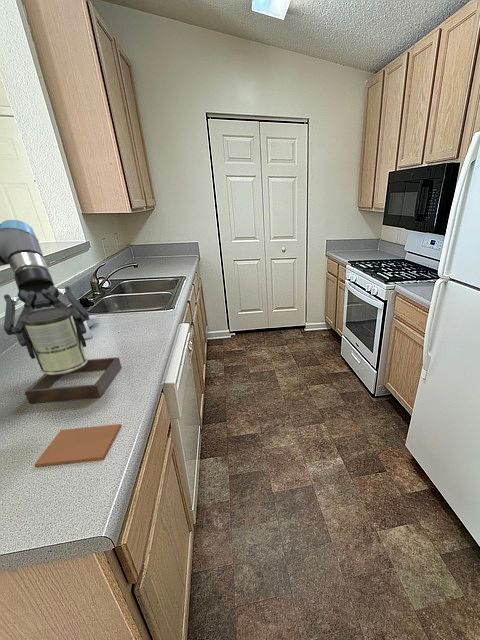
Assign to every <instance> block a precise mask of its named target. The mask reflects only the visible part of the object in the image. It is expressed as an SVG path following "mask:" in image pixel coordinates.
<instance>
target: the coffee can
mask: <svg viewBox="0 0 480 640" xmlns="http://www.w3.org/2000/svg"><path fill="white" fill-rule="evenodd" d="M69 308H70V307H69ZM69 308H55V307H47V308H43V309H42V308H41V309H36V310H34V311H33V312H30V313H27V314H25V315H23V316H21V317H20V316H19V317H20V321H21V323H22V325H23V327H24V329H25V332H26V334H27V337H28V339H29V341H30V344H31V346H32V349H33V352H34V355H35V357H36V358H35V359H36V361H37V364H38V365H39V368H40V371H41V373H42V374H43V375H44V374H48V375H57V374H63V373H64V374H69V373H68V372H71V371H74V370H77V369H79V368H81V367H82V366H84V365H85V364H86V363H87V362H88V360H89V359H88V358H87V355H86V352H85V349H84V347H83V345H82V343H81V340H80V337H79V334H78V331H77V328H76V325H75V322H74V319H73V316H72V311H71V309H72V308H70V309H69ZM64 374H63V375H64Z"/></svg>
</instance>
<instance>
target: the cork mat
mask: <svg viewBox="0 0 480 640" xmlns="http://www.w3.org/2000/svg"><path fill="white" fill-rule="evenodd" d="M121 428H122V424H121V423H117V424H107V425H96V426H87V427H78V428H77V427H76V428H67V429H66V428H65V429H60V430H59V432H58V433H57V435H56V436H55V437H54V438H53V440H52V441H51V442H50V443H49V445H48V446H47V447H46V449H45V450H44V451H43V453H42V454H41V455H40V456H39V458H38V459H36V461H35V463H34V464H33V465H34V467H35V468H40V467H49V466H59V465H67V464H76V463H85V462H93V461H103V460H104V461H105V458H106V456H107V455H108V452H109V451H110V448H111V447H112V445H113V443H114V441H115V439H116V438H117V435H118V434H119V431H120V429H121Z"/></svg>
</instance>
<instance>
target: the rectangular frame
mask: <svg viewBox="0 0 480 640" xmlns="http://www.w3.org/2000/svg"><path fill="white" fill-rule="evenodd" d="M87 360H88V362H87V363H86V364H85V365H84V366H82V367H81V368H79V369H77V370H74V371H71V372H68V373H67V374H76V373H87V372H101V371H104V372H103V373H102V374H101V375H100V377H99V378H98V380H97V381H96V382H95V383H94V384H83V385H72V386H70V385H69V386H60V387H52V386H53V385H54V384H55V383H56V382H57V381H58V380H59V379H60V378H62V376H63V375H64V374H65V373H63V374H57V375H48V374H44V373H43V375H41V376H40V377H39V378H38V379H37V380H36V381H35V382H34V383H32V385H30V386H29V387H28V388H27V389H26V390H25V391H24V395H25V396H26V398H27V401H28V403H29V404H30V405H32V404H42V403H43V404H44V403H45V404H46V403H54V402H55V403H56V402H65V401H76V400H88V399H100V398H102V396H103V395H104V394H105V393H106V391H107V389H108V388H109V386H110V385H111V383H113V381H114V379H115V378H116V377H117V376H118V374H119V373H120V371H121V370H122V367H123V366H122V364H121V360H120V357H119V356H118V357H105V358H94V359H93V358H92V359H87Z"/></svg>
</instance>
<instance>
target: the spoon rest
mask: <svg viewBox="0 0 480 640" xmlns="http://www.w3.org/2000/svg"><path fill="white" fill-rule="evenodd" d="M97 319H98V316H97V315H94V314H92V315H90V314H89V320H86V321H84V325H85V328H86V333H85V334H83V337H84V339H85V340H86V339H91V338H93V337H94V336H93V333H92V331H91V329H90V328H91V327H93V326H94V325H95V323H96V322H97Z"/></svg>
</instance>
